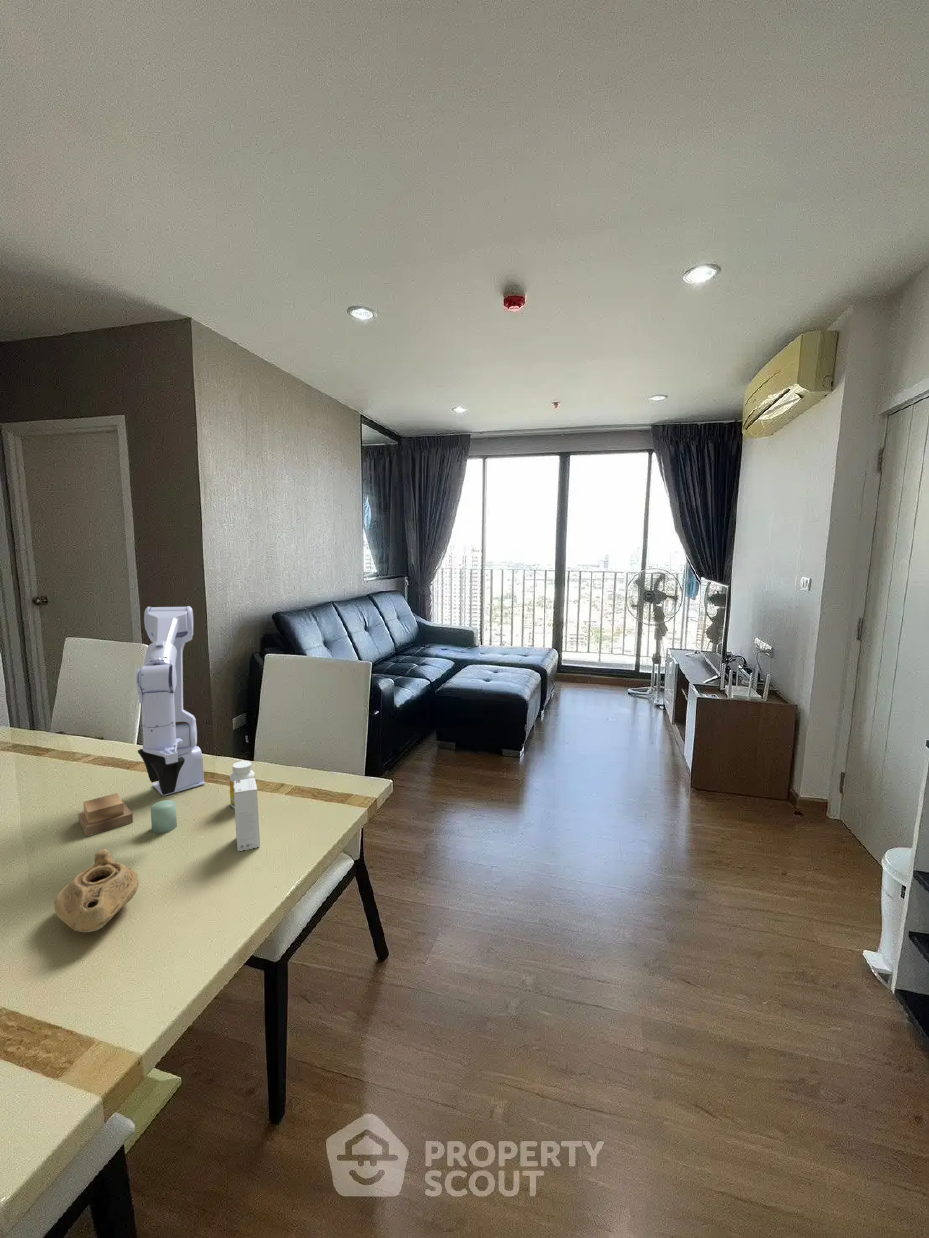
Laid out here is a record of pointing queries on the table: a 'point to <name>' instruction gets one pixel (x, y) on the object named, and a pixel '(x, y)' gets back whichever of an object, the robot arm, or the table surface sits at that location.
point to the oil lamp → (96, 894)
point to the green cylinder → (163, 816)
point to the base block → (105, 822)
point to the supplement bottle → (240, 775)
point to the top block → (103, 808)
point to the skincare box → (246, 814)
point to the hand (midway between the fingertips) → (162, 786)
